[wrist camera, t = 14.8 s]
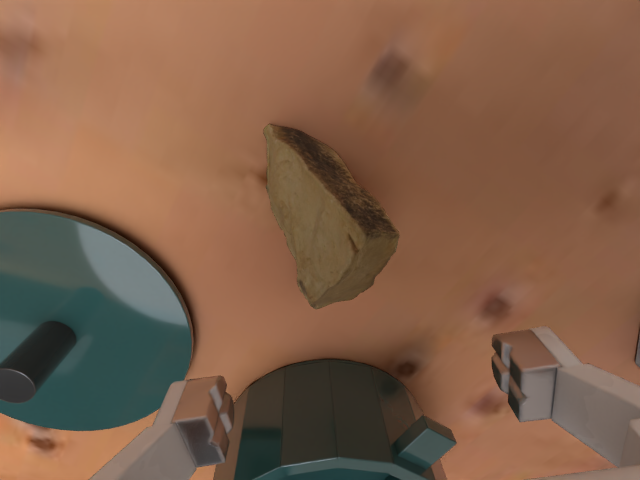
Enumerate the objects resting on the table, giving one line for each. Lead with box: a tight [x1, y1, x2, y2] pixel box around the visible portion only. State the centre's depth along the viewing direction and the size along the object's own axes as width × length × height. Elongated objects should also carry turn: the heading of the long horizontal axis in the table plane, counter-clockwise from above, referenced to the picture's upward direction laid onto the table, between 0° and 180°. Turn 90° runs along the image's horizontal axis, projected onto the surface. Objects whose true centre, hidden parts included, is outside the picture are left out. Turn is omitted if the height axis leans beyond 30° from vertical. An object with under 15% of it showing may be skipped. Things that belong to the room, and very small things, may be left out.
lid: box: [0, 209, 194, 431], centre depth 25 cm, size 18×18×6 cm
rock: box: [264, 124, 400, 309], centre depth 22 cm, size 11×9×10 cm
